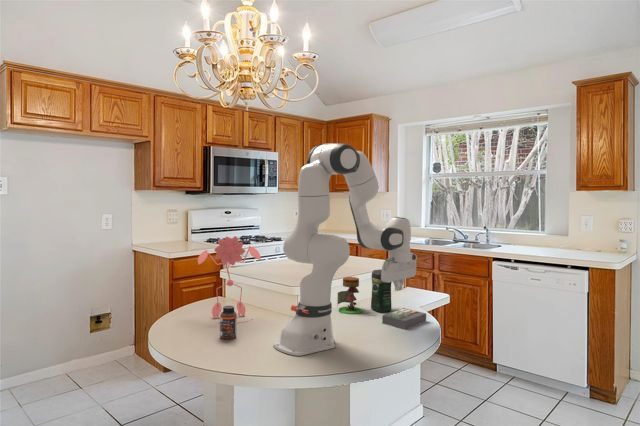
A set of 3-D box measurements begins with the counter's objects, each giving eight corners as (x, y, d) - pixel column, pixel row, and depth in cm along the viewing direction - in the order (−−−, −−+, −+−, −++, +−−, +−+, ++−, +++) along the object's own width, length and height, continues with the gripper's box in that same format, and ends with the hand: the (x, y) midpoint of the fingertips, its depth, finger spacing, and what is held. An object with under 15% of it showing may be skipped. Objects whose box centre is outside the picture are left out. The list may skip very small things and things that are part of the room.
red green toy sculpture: (368, 309, 198) (369, 277, 198) (355, 315, 188) (356, 282, 187) (346, 305, 205) (347, 274, 204) (332, 311, 194) (333, 278, 194)
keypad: (404, 329, 170) (405, 321, 170) (382, 323, 178) (382, 315, 177) (426, 321, 181) (426, 313, 181) (404, 315, 189) (404, 308, 189)
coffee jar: (394, 311, 195) (395, 271, 194) (380, 313, 192) (380, 272, 191) (382, 306, 204) (382, 268, 203) (368, 308, 200) (368, 269, 199)
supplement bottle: (220, 340, 154) (220, 309, 154) (219, 335, 160) (219, 305, 159) (237, 339, 156) (237, 308, 155) (235, 333, 162) (236, 304, 161)
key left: (398, 320, 173) (398, 314, 173) (391, 318, 176) (391, 312, 176) (403, 318, 176) (403, 312, 176) (396, 317, 178) (396, 310, 178)
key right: (412, 318, 180) (412, 312, 180) (405, 316, 183) (405, 310, 183) (416, 317, 183) (417, 311, 183) (409, 315, 185) (409, 309, 185)
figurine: (197, 315, 184) (197, 234, 182) (257, 312, 191) (258, 234, 189) (197, 327, 170) (197, 239, 167) (262, 323, 176) (263, 238, 174)
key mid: (405, 318, 177) (405, 311, 177) (398, 316, 179) (398, 310, 179) (410, 316, 179) (410, 310, 179) (403, 314, 182) (403, 308, 182)
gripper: (390, 260, 165) (390, 295, 166) (419, 255, 180) (418, 287, 180) (377, 258, 169) (376, 292, 170) (406, 253, 184) (405, 285, 185)
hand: (398, 290), depth 175 cm, fingers closed
